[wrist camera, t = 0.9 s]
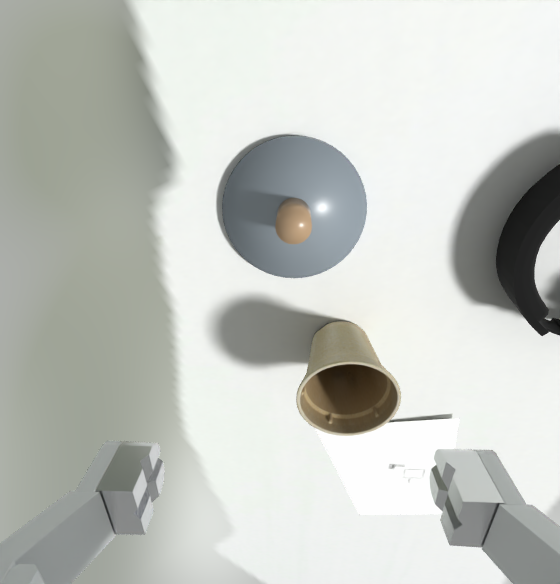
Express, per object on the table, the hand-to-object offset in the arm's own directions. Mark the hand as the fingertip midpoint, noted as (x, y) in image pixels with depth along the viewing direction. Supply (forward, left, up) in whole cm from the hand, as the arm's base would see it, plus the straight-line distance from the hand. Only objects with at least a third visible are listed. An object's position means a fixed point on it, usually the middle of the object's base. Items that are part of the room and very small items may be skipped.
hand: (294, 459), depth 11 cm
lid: (+1, 0, -26) cm, 26 cm away
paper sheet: (+39, +8, -26) cm, 47 cm away
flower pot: (+15, +5, -26) cm, 31 cm away
